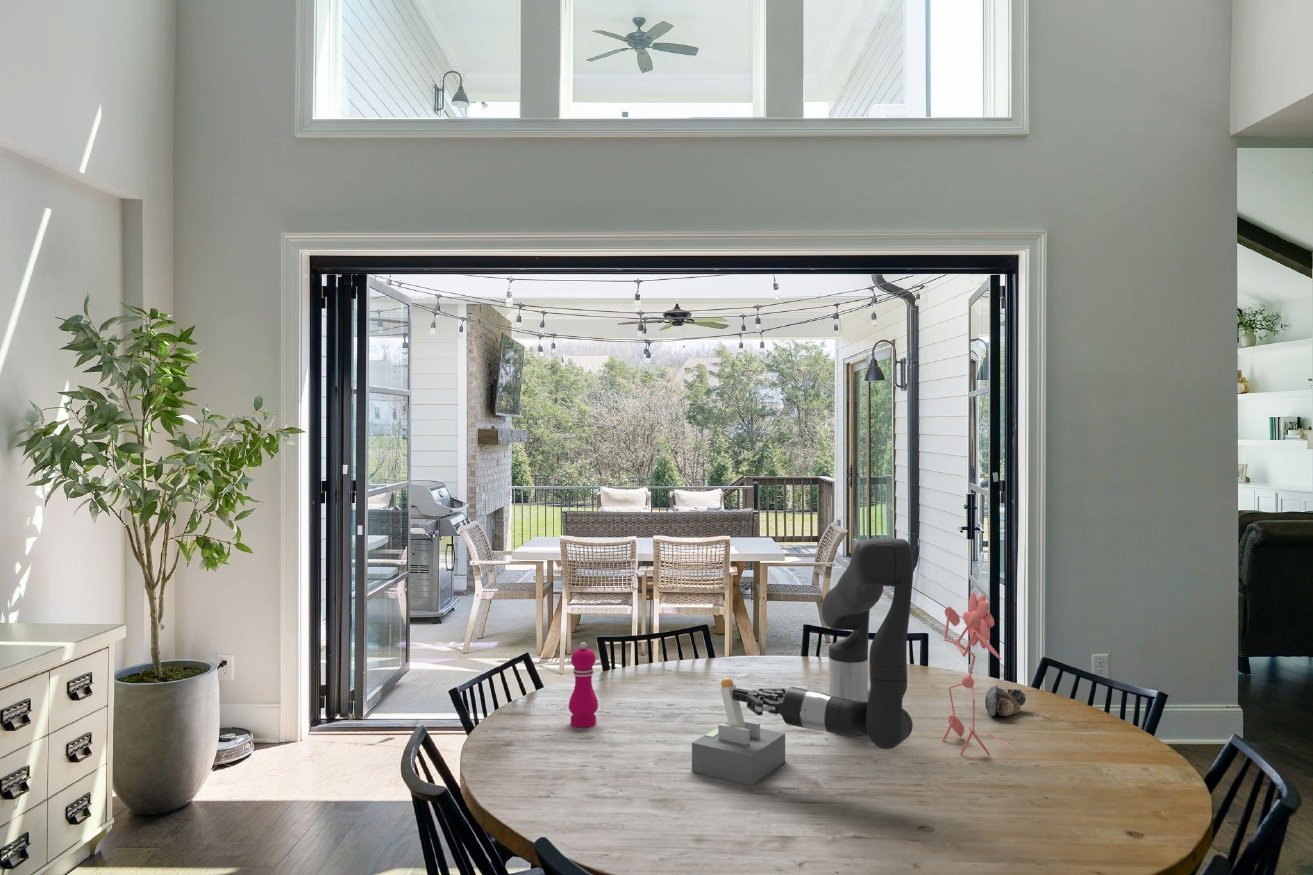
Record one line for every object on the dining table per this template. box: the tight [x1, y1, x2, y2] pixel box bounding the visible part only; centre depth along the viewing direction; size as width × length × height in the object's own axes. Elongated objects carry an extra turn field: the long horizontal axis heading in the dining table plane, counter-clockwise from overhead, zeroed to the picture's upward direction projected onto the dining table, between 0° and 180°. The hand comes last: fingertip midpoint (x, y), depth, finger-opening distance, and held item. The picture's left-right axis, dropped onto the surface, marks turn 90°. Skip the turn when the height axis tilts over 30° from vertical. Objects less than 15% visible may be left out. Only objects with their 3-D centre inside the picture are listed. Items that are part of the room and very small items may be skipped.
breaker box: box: [691, 719, 786, 787], centre depth 182 cm, size 16×14×9 cm
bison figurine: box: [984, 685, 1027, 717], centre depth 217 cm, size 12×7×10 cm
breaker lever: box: [719, 677, 746, 729], centre depth 183 cm, size 3×3×13 cm
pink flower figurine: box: [941, 591, 1016, 765], centre depth 194 cm, size 15×26×35 cm, turn 5°
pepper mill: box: [568, 641, 599, 729], centre depth 210 cm, size 7×7×20 cm
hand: (734, 693), depth 183 cm, fingers closed
